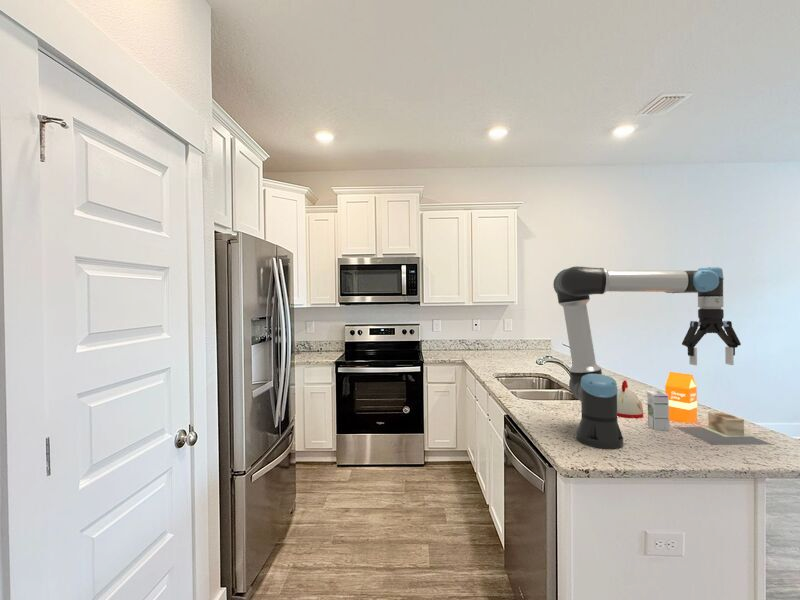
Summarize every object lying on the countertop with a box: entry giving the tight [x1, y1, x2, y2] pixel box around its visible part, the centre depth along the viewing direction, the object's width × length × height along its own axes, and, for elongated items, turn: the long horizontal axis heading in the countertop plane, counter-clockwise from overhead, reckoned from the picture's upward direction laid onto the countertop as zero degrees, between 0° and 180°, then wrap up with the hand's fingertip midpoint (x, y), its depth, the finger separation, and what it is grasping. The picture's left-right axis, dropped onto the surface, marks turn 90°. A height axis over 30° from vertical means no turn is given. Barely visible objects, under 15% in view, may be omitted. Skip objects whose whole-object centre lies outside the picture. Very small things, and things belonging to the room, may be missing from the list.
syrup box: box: [646, 390, 671, 431], centre depth 153 cm, size 6×6×14 cm
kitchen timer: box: [617, 379, 644, 419], centre depth 174 cm, size 14×14×15 cm
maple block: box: [707, 412, 745, 436], centre depth 147 cm, size 9×6×6 cm, turn 0°
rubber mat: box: [673, 426, 772, 446], centre depth 144 cm, size 21×19×1 cm
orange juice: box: [664, 371, 698, 424], centre depth 164 cm, size 8×9×20 cm
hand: (711, 364), depth 145 cm, fingers open, 13 cm apart
